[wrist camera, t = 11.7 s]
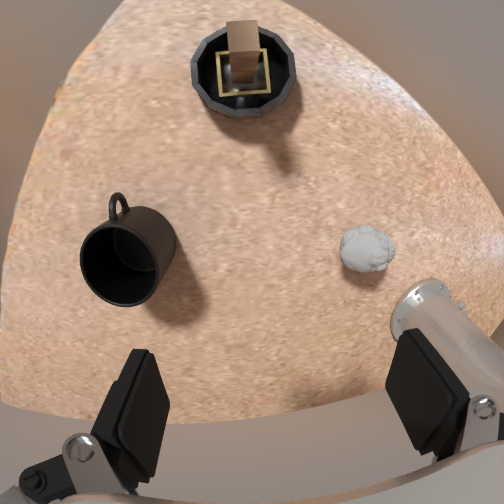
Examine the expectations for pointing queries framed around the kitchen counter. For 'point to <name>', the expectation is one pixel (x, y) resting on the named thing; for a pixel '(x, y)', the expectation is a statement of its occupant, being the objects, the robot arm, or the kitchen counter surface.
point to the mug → (127, 254)
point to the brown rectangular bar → (243, 50)
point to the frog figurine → (366, 249)
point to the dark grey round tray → (243, 95)
